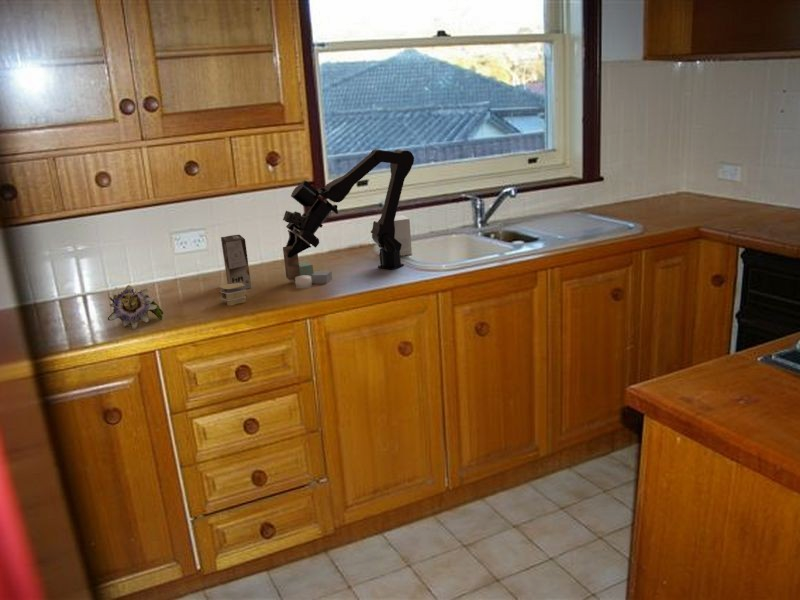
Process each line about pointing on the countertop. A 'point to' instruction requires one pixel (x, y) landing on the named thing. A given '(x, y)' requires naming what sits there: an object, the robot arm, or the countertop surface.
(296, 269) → the walnut block
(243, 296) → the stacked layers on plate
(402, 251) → the small box
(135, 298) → the passion flower
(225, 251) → the coffee box
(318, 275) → the grey block
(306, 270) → the green block
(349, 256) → the countertop surface
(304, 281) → the white tub
